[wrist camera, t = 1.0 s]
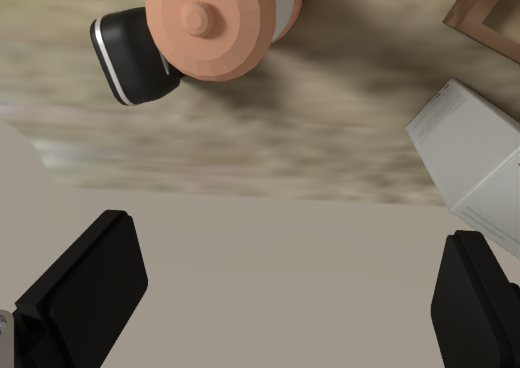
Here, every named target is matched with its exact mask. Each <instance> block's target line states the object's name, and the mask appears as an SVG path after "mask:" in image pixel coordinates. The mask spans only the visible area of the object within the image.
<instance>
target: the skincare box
mask: <svg viewBox="0 0 520 368" xmlns="http://www.w3.org/2000/svg"><path fill="white" fill-rule="evenodd" d="M405 129H406V131H407V133H408V135H409V137H410V139H411V140H412V142H413V144H414V146H415V148H416V150H417V151H418V153H419V155H420V157H421V159H422V161H423V162H424V164H425V166H426V168H427V170H428V172H429V174H430V175H431V177H432V179H433V181H434V183H435V185H436V187H437V188H438V190H439V192H440V194H441V196H442V197H443V199H444V202H445V203H446V205H447V207H448V209H449V211H450V213H451V214H453V215H454V216H456V217H457V218H459V219H460V220H462V221H463V222H465V223H466V224H467V225H469V226H470V227H472V228H473V229H475V230H476V231H479V232H481V233H482V234H483V235H484V236H485V237H487V238H488V239H490V240H491V241H493V242H494V243H496V244H497V245H499V246H500V247H501V248H503V249H505V250H506V251H507V252H509V253H510V254H512V255H513V256H515V257H517V258H518V259H520V123H518V122H517V121H516V120H514V119H513V118H511V117H510V116H509V115H507V114H506V113H505V112H503V111H502V110H500V109H499V108H498V107H496V106H495V105H493V104H492V103H490V102H489V101H487V100H486V99H484V98H483V97H482V96H480V95H479V94H477V93H476V92H474V91H473V90H471V89H470V88H468V87H467V86H465V85H464V84H462V83H461V82H459V81H458V80H456V79H455V78H451V79H450V80H449V81H448V82H447V83H446V84H445V85H444V86H443V88H442V89H441V90H440V91H439V92H438V93H437V94H436V95H435V96H434V97H433V98H432V99H431V101H430V102H429V103H428V104H427V105H426V106H425V107H424V108H423V109H422V110H421V111H420V113H419V114H418V115H417V116H416V117H415V118H414V119H413V120H412V121H411V122H410V124H409V125H408V126H407V127H406V128H405Z"/></svg>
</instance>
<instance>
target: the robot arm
mask: <svg viewBox="0 0 520 368" xmlns="http://www.w3.org/2000/svg"><path fill="white" fill-rule="evenodd" d="M147 286H148V278H147V274H146V270H145V266H144V262H143V258H142V254H141V250H140V246H139V242H138V239H137V234H136V230H135V226H134V222H133V219H132V217H131V216H129V215H128V214H127V212H125V211H121V210H106V211H104V212H103V213H102V214H101V215H100V216H99V217H98V218H97V219H96V220H95V221H94V222H93V223H92V224H91V225H90V226H89V227H88V229H87V230H86V231H85V232H84V233H83V234H82V235H81V236H80V237H79V238H78V239H77V240H76V241H75V242H74V243H73V244H72V245H71V246H70V247H69V248H68V249H67V250H66V251H65V252H64V253H63V254H62V255H61V256H60V258H58V259H57V260H56V261H55V262H54V263H53V264H52V265H51V267H49V268H48V270H47V271H46V272H45V273H44V274H43V275H42V276H41V277H40V278H39V279H38V280H37V281H36V282H35V283H34V284H33V285H32V286H31V287H30V288H29V289H28V290H27V291H26V292H25V293H24V294H23V295H22V296H21V297H20V298H19V299H18V300H17V301H16V302H15V305H16V307H17V309H16V310H15V311H14V312H13V313H12V314H11V313H10V312H8V311H5V310H0V368H100V367H101V365H102V364H103V362H104V360H105V359H106V357H107V355H108V353H109V352H110V350H111V349H112V347H113V345H114V343H115V342H116V340H117V339H118V337H119V335H120V334H121V332H122V330H123V329H124V327H125V325H126V323H127V322H128V320H129V318H130V317H131V315H132V313H133V312H134V310H135V308H136V307H137V305H138V303H139V302H140V300H141V298H142V297H143V295H144V293H145V292H146V290H147ZM431 318H432V322H433V326H434V330H435V333H436V337H437V340H438V344H439V348H440V352H441V355H442V359H443V362H444V366H445V368H520V287H519V286H518V285H517V284H515V283H509V281H508V279H507V277H506V275H505V274H504V272H503V270H502V268H501V267H500V265H499V263H498V261H497V259H496V258H495V256H494V254H493V252H492V250H491V249H490V247H489V245H488V244H487V241H486V240H485V238H484V236H483V234H482V233H481V232H479V231H464V230H457V231H456V232H455V233H454V235H448V236H447V239H446V243H445V248H444V252H443V256H442V260H441V265H440V269H439V273H438V278H437V283H436V286H435V291H434V295H433V300H432V304H431Z"/></svg>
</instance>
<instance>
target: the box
mask: <svg viewBox="0 0 520 368" xmlns="http://www.w3.org/2000/svg"><path fill="white" fill-rule="evenodd" d="M443 23H444V24H446V25H448V26H450V27H452V28H454V29H455V30H457V31H459V32H461V33H463V34H465V35H466V36H468V37H470V38H472V39H474V40H476V41H477V42H479V43H481V44H483V45H485V46H487V47H488V48H490V49H492V50H494V51H496V52H498V53H499V54H501V55H503V56H505V57H507V58H509V59H510V60H512V61H514V62H516V63H518V64H520V0H457V1H456V2H455V4H454V5H453V7H452V8H451V10H450V11H449V13H448V14H447V16H446V17H445V19H444V20H443Z"/></svg>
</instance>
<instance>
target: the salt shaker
mask: <svg viewBox="0 0 520 368" xmlns="http://www.w3.org/2000/svg"><path fill="white" fill-rule="evenodd" d="M301 7H302V0H145V8H146V17H147V25H148V27H149V30H150V32H151V35H152V37H153V40H154V42H155V45H156V46H157V47H158V49H159V50H160V51H161V53H162V54H163V55H164V57H165V58H166V59H167V61H168V62H169V63H171V64H172V65H173V66H175V67H176V68H177V69H178V70H180V71H181V72H182V73H184V74H186V75H189V76H191V77H194V78H196V79H199V80H204V81H222V82H224V81H227V80H231V79H234V78H238V77H241V76H243V75H244V74H245V73H247V72H248V71H250V70H251V69H253V68H254V67H255V66H257V65H258V63H259V62H260V61H261V59H262V58H263V56H264V55H265V54H266V52H267V51H268V50H269V47H270V44H271V43H274V42H276V41H277V40H278V39H280V38H281V37H282V36H284V35H285V34H286V33H287V32H288V31H289V29H290V28H291V27H292V25H293V24H294V23H295V21H296V20H297V18H298V15H299V13H300V10H301Z"/></svg>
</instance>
